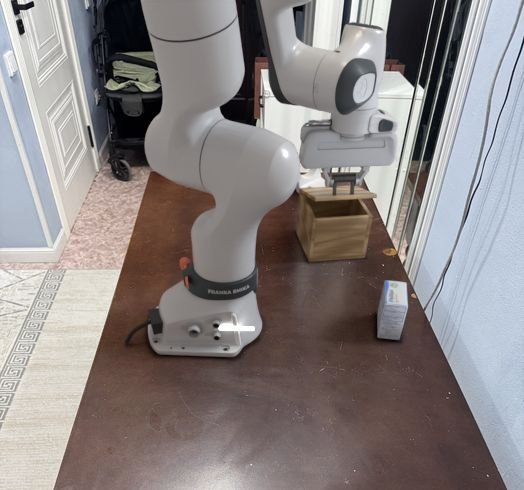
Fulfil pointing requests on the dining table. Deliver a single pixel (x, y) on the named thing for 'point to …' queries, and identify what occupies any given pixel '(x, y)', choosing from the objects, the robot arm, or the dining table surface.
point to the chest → (333, 228)
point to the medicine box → (392, 310)
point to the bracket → (310, 180)
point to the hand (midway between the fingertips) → (343, 185)
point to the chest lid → (338, 190)
